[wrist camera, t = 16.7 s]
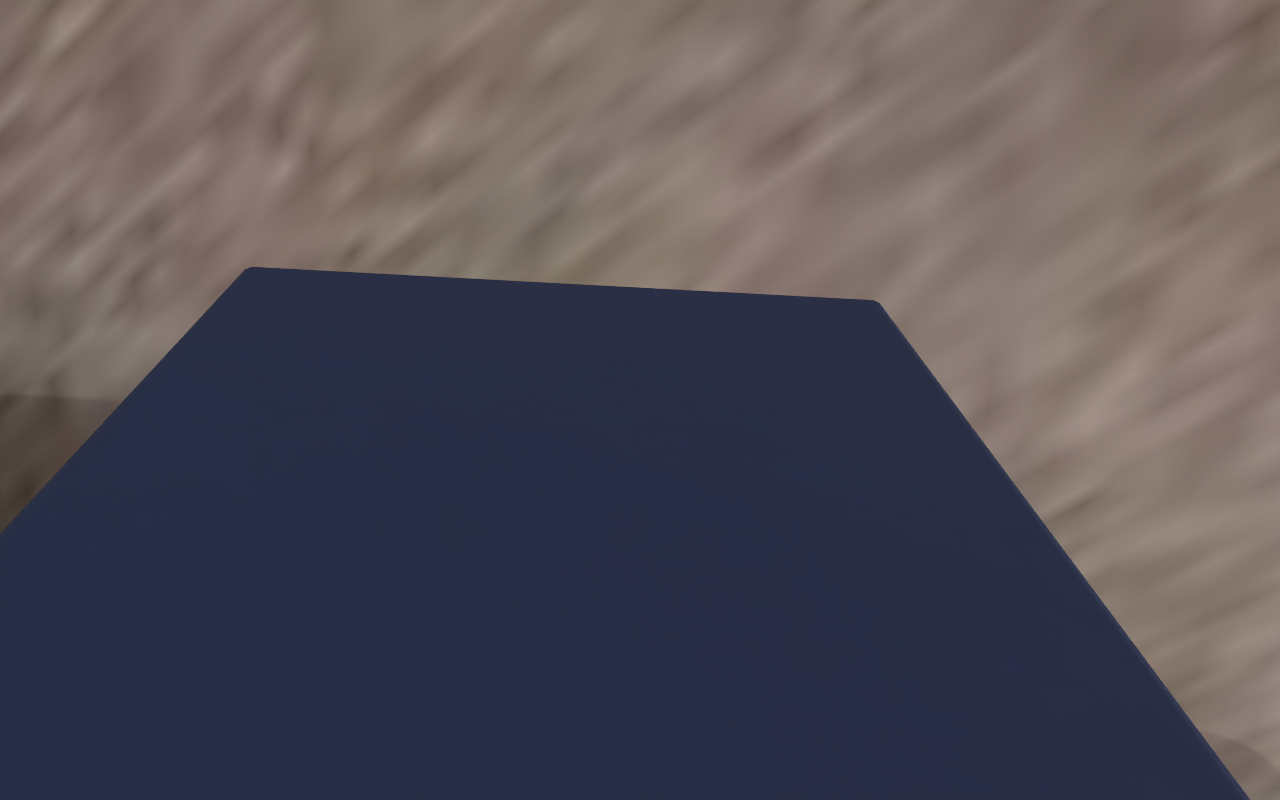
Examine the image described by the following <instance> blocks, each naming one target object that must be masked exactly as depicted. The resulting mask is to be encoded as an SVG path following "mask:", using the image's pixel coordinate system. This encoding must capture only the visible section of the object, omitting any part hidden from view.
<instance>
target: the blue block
mask: <svg viewBox="0 0 1280 800" xmlns="http://www.w3.org/2000/svg"><path fill="white" fill-rule="evenodd" d="M0 800H1250V799H1249V798H1248V796H1247V795H1246V794H1245V792H1244V791H1243V790H1242V788H1241V787H1240V786H1239V784H1238V783H1237V782H1236V780H1235V779H1234V778H1233V776H1232V775H1231V774H1230V772H1229V771H1228V770H1227V768H1226V767H1225V766H1224V764H1223V763H1222V762H1221V760H1220V759H1219V758H1218V756H1217V755H1216V754H1215V752H1214V751H1213V750H1212V748H1211V747H1210V745H1209V744H1208V743H1207V741H1206V740H1205V739H1204V737H1203V736H1202V735H1201V733H1200V732H1199V731H1198V729H1197V728H1196V727H1195V725H1194V724H1193V723H1192V721H1191V720H1190V719H1189V717H1188V716H1187V715H1186V713H1185V712H1184V711H1183V709H1182V708H1181V707H1180V705H1179V704H1178V703H1177V701H1176V700H1175V699H1174V697H1173V696H1172V695H1171V693H1170V692H1169V691H1168V689H1167V688H1166V687H1165V685H1164V684H1163V683H1162V681H1161V680H1160V678H1159V677H1158V676H1157V674H1156V673H1155V672H1154V670H1153V669H1152V668H1151V666H1150V665H1149V664H1148V662H1147V661H1146V660H1145V658H1144V657H1143V656H1142V654H1141V653H1140V652H1139V650H1138V649H1137V648H1136V646H1135V645H1134V644H1133V642H1132V641H1131V640H1130V638H1129V637H1128V636H1127V634H1126V633H1125V632H1124V630H1123V629H1122V628H1121V626H1120V625H1119V624H1118V622H1117V621H1116V620H1115V618H1114V617H1113V615H1112V614H1111V613H1110V611H1109V610H1108V609H1107V607H1106V606H1105V605H1104V603H1103V602H1102V601H1101V599H1100V598H1099V597H1098V595H1097V594H1096V593H1095V591H1094V590H1093V589H1092V587H1091V586H1090V585H1089V583H1088V582H1087V581H1086V579H1085V578H1084V577H1083V575H1082V574H1081V573H1080V571H1079V570H1078V569H1077V567H1076V566H1075V565H1074V563H1073V562H1072V561H1071V559H1070V558H1069V557H1068V555H1067V554H1066V553H1065V551H1064V550H1063V548H1062V547H1061V546H1060V544H1059V543H1058V542H1057V540H1056V539H1055V538H1054V536H1053V535H1052V534H1051V532H1050V531H1049V530H1048V528H1047V527H1046V526H1045V524H1044V523H1043V522H1042V520H1041V519H1040V518H1039V516H1038V515H1037V514H1036V512H1035V511H1034V510H1033V508H1032V507H1031V506H1030V504H1029V503H1028V502H1027V500H1026V499H1025V498H1024V496H1023V495H1022V494H1021V492H1020V491H1019V490H1018V488H1017V487H1016V485H1015V484H1014V483H1013V481H1012V480H1011V479H1010V477H1009V476H1008V475H1007V473H1006V472H1005V471H1004V469H1003V468H1002V467H1001V465H1000V464H999V463H998V461H997V460H996V459H995V457H994V456H993V455H992V453H991V452H990V451H989V449H988V448H987V447H986V445H985V444H984V443H983V441H982V440H981V439H980V437H979V436H978V435H977V433H976V432H975V431H974V429H973V428H972V427H971V425H970V424H969V423H968V421H967V420H966V418H965V417H964V416H963V414H962V413H961V412H960V410H959V409H958V408H957V406H956V405H955V404H954V402H953V401H952V400H951V398H950V397H949V396H948V394H947V393H946V392H945V390H944V389H943V388H942V386H941V385H940V384H939V382H938V381H937V380H936V378H935V377H934V376H933V374H932V373H931V372H930V370H929V369H928V368H927V366H926V365H925V364H924V362H923V361H922V360H921V358H920V357H919V355H918V354H917V353H916V351H915V350H914V349H913V347H912V346H911V345H910V343H909V342H908V341H907V339H906V338H905V337H904V335H903V334H902V333H901V331H900V330H899V329H898V327H897V326H896V325H895V323H894V322H893V321H892V319H891V318H890V317H889V315H888V314H887V313H886V311H885V310H884V309H883V307H882V306H881V305H880V303H878V302H876V301H874V300H859V299H840V298H822V297H803V296H784V295H766V294H747V293H728V292H710V291H691V290H672V289H654V288H635V287H616V286H598V285H579V284H560V283H542V282H523V281H504V280H486V279H467V278H448V277H430V276H411V275H392V274H374V273H355V272H336V271H318V270H299V269H280V268H262V267H251V268H248V269H245V270H244V271H243V272H242V273H241V275H240V276H239V277H238V278H237V279H236V280H235V281H234V282H233V283H232V284H231V285H230V286H229V287H228V289H227V290H226V291H225V292H224V293H223V294H222V295H221V296H220V297H219V298H218V299H217V300H216V302H215V303H214V304H213V305H212V306H211V307H210V308H209V309H208V310H207V311H206V312H205V313H204V314H203V316H202V317H201V318H200V319H199V320H198V321H197V322H196V323H195V324H194V325H193V326H192V327H191V329H190V330H189V331H188V332H187V333H186V334H185V335H184V336H183V337H182V338H181V339H180V340H179V341H178V343H177V344H176V345H175V346H174V347H173V348H172V349H171V350H170V351H169V352H168V353H167V354H166V356H165V357H164V358H163V359H162V360H161V361H160V362H159V363H158V364H157V365H156V366H155V367H154V368H153V370H152V371H151V372H150V373H149V374H148V375H147V376H146V377H145V378H144V379H143V380H142V381H141V383H140V384H139V385H138V386H137V387H136V388H135V389H134V390H133V391H132V392H131V393H130V394H129V395H128V397H127V398H126V399H125V400H124V401H123V402H122V403H121V404H120V405H119V406H118V407H117V408H116V410H115V411H114V412H113V413H112V414H111V415H110V416H109V417H108V418H107V419H106V420H105V421H104V423H103V424H102V425H101V426H100V427H99V428H98V429H97V430H96V431H95V432H94V433H93V434H92V435H91V437H90V438H89V439H88V440H87V441H86V442H85V443H84V444H83V445H82V446H81V447H80V448H79V450H78V451H77V452H76V453H75V454H74V455H73V456H72V457H71V458H70V459H69V460H68V461H67V462H66V464H65V465H64V466H63V467H62V468H61V469H60V470H59V471H58V472H57V473H56V474H55V475H54V477H53V478H52V479H51V480H50V481H49V482H48V483H47V484H46V485H45V486H44V487H43V488H42V489H41V491H40V492H39V493H38V494H37V495H36V496H35V497H34V498H33V499H32V500H31V501H30V502H29V504H28V505H27V506H26V507H25V508H24V509H23V510H22V511H21V512H20V513H19V514H18V515H17V516H16V518H15V519H14V520H13V521H12V522H11V523H10V524H9V525H8V526H7V527H6V528H5V529H4V531H3V532H2V533H1V534H0Z"/></svg>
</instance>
